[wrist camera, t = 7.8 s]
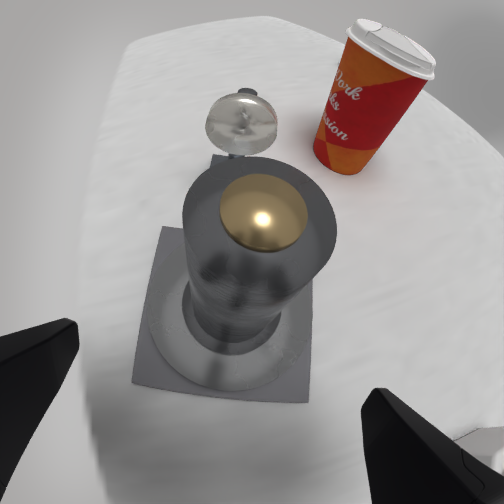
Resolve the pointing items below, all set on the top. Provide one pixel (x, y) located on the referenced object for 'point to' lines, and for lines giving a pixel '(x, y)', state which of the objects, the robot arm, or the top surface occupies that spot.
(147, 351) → the turntable base
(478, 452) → the medicine bottle
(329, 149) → the paper cup
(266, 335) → the cylinder with brass cap
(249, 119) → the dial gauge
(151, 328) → the platter
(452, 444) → the robot arm
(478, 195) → the top surface
